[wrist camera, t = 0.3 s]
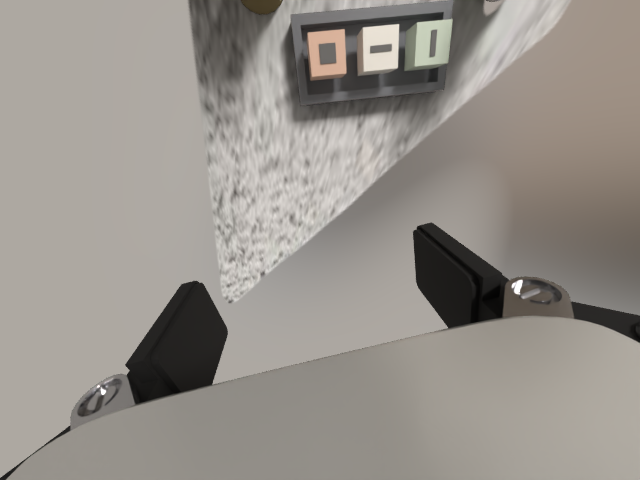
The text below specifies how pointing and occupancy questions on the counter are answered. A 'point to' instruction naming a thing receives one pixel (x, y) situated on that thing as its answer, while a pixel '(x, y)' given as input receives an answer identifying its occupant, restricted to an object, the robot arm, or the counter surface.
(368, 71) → the key cream
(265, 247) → the counter surface
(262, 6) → the olive rounded piece
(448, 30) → the key sage
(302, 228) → the counter surface
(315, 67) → the peach square block
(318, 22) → the base
